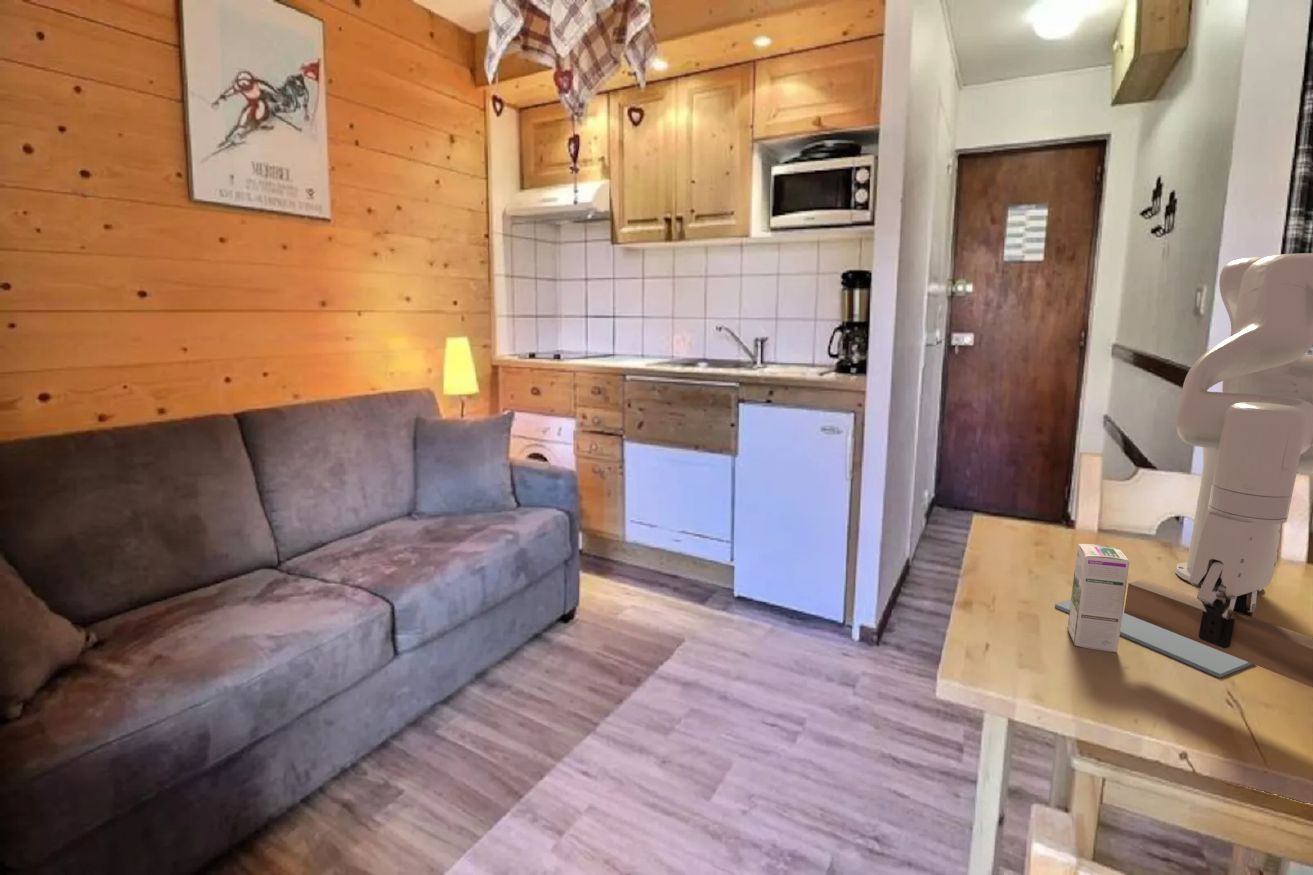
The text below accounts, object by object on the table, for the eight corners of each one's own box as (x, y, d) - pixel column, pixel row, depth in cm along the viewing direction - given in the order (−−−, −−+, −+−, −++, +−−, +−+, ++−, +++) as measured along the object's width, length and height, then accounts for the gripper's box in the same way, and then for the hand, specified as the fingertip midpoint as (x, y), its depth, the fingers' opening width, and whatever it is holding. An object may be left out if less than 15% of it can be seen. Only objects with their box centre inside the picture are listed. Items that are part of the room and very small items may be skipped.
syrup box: (1118, 653, 100) (1133, 560, 97) (1072, 646, 102) (1085, 554, 99) (1108, 636, 106) (1122, 546, 103) (1064, 629, 108) (1076, 541, 105)
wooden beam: (1138, 608, 99) (1142, 579, 98) (1337, 684, 80) (1345, 649, 79) (1123, 612, 98) (1128, 583, 97) (1323, 691, 78) (1331, 655, 77)
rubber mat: (1088, 597, 119) (1089, 594, 119) (1254, 663, 98) (1255, 659, 98) (1054, 607, 115) (1055, 603, 115) (1219, 677, 94) (1220, 673, 94)
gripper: (1247, 488, 91) (1223, 615, 95) (1176, 503, 84) (1153, 640, 88) (1320, 503, 85) (1291, 639, 88) (1249, 520, 78) (1220, 668, 81)
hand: (1222, 638), depth 88 cm, fingers closed on wooden beam, 3 cm apart
